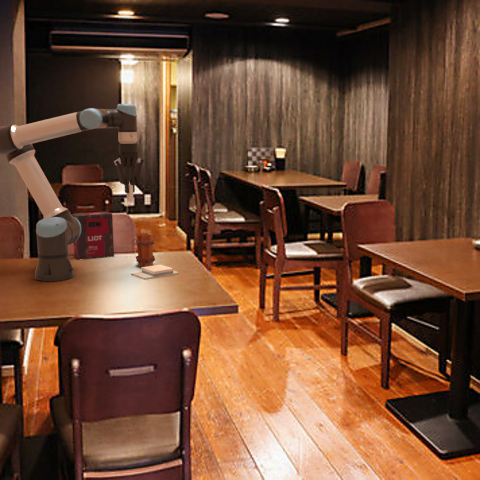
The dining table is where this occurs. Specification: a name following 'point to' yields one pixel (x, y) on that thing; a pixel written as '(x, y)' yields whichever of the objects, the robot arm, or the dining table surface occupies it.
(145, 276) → the mat
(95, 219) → the box
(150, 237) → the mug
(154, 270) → the tile
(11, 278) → the dining table surface
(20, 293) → the dining table surface
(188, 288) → the dining table surface
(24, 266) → the dining table surface
